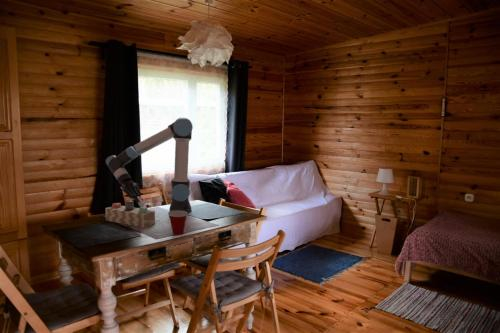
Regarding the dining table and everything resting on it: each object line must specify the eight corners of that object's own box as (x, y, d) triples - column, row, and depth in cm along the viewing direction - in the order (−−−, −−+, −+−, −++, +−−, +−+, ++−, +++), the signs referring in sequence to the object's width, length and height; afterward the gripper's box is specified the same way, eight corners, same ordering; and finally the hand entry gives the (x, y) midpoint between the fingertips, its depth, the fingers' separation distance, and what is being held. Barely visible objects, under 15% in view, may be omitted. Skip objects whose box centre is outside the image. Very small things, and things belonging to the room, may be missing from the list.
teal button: (137, 216, 225) (137, 208, 224) (143, 214, 229) (143, 206, 228) (143, 217, 222) (143, 209, 222) (149, 215, 226) (149, 207, 226)
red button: (110, 212, 237) (110, 204, 236) (117, 210, 241) (116, 202, 241) (116, 212, 234) (115, 205, 234) (122, 211, 239) (122, 203, 238)
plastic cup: (177, 237, 199) (176, 215, 198) (164, 234, 206) (163, 213, 204) (192, 232, 208) (191, 211, 206) (179, 229, 214) (178, 209, 213)
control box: (106, 220, 236) (105, 208, 235) (118, 217, 245) (118, 205, 244) (143, 227, 220) (142, 214, 219) (155, 223, 228) (154, 210, 227)
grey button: (123, 209, 230) (123, 201, 230) (129, 207, 235) (129, 200, 234) (129, 210, 228) (128, 202, 227) (135, 208, 232) (135, 200, 232)
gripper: (128, 179, 239) (147, 207, 232) (111, 182, 227) (131, 211, 221) (133, 171, 235) (153, 200, 229) (116, 174, 224) (137, 204, 218)
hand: (142, 205), depth 225 cm, fingers closed
